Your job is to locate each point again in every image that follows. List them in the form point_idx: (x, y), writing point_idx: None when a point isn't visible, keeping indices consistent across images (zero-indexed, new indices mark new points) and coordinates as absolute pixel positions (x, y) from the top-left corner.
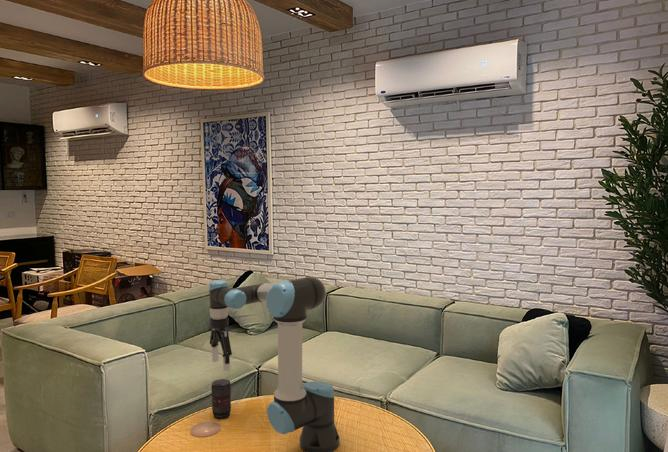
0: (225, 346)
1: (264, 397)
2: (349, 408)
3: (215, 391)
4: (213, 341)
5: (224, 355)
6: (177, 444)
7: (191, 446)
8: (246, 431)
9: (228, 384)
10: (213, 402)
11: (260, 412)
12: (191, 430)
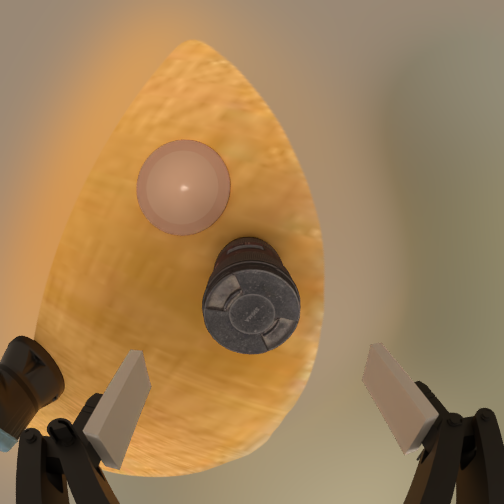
0: (20, 500)
1: (292, 396)
2: (143, 462)
3: (223, 265)
4: (427, 487)
5: (55, 434)
6: (146, 97)
7: (114, 129)
8: (116, 286)
9: (212, 336)
10: (236, 245)
11: (207, 360)
12: (193, 145)
